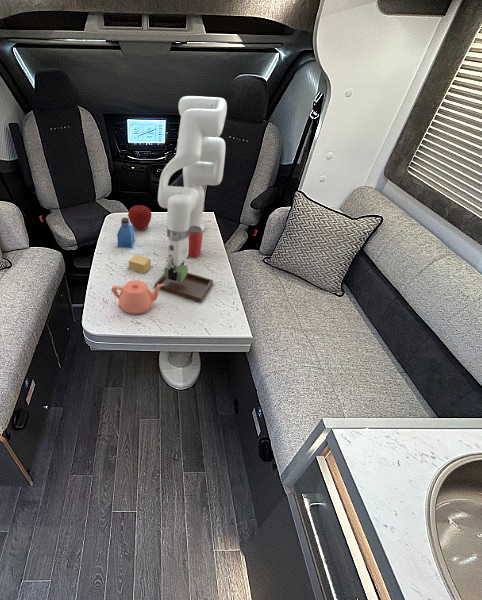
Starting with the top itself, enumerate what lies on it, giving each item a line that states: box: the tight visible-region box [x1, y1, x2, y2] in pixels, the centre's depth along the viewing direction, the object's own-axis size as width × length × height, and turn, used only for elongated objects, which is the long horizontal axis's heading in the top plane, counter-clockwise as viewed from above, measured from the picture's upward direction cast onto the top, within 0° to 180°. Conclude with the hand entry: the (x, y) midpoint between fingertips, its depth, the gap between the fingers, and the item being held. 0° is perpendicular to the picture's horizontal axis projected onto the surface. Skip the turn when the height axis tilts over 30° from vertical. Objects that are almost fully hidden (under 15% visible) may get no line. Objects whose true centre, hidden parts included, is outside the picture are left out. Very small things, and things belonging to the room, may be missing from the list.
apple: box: [127, 204, 153, 231], centre depth 162 cm, size 11×11×12 cm
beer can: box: [187, 226, 203, 258], centre depth 144 cm, size 7×7×12 cm
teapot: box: [111, 279, 164, 315], centre depth 118 cm, size 12×18×10 cm
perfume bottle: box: [116, 217, 136, 249], centre depth 150 cm, size 6×6×12 cm
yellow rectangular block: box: [128, 253, 152, 274], centre depth 138 cm, size 6×7×4 cm
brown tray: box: [154, 272, 214, 303], centre depth 129 cm, size 13×19×2 cm
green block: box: [163, 262, 189, 282], centre depth 127 cm, size 6×7×4 cm
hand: (175, 274), depth 128 cm, fingers closed on green block, 5 cm apart
